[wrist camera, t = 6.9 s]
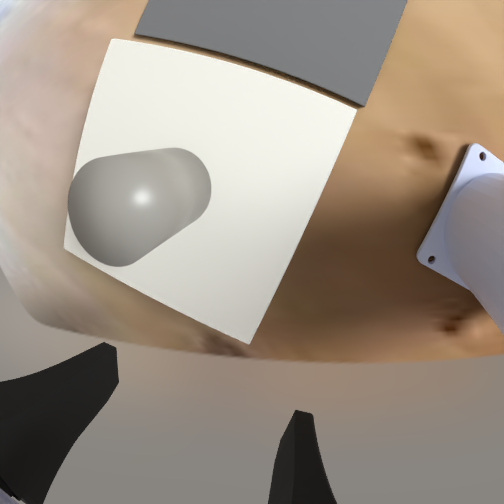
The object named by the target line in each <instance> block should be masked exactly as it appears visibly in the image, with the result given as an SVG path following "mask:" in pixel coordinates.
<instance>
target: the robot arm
mask: <svg viewBox="0 0 504 504" xmlns="http://www.w3.org/2000/svg"><path fill="white" fill-rule="evenodd" d="M481 152H482V153H483V156H484V157H483V159H482V160H480V158H479V154H480V153H481ZM430 256H434V259H433V260H432V261H431V262H428V258H429V257H430ZM417 259H418V261H419V262H420V263H421V264H423V265H425V266H427V267H429V268H431V269H432V270H434V271H436V272H438V273H440V274H442V275H443V276H445V277H447V278H449V279H451V280H452V281H454V282H456V283H458V284H459V285H461V286H463V287H465V288H466V289H468V290H470V291H471V292H472V293H473V294H474V296H475V297H476V298H477V300H478V301H479V302H480V303H481V305H482V306H483V307H484V309H485V310H486V311H487V313H488V314H489V315H490V317H491V318H492V320H493V321H494V322H495V324H496V325H497V327H498V328H499V329H500V331H501V332H502V334H503V335H504V163H503V162H502V161H501V160H499V159H498V158H497V157H495V156H494V155H493V154H491V153H490V152H489V151H487V150H486V149H485V148H483V147H482V146H481V145H479V144H477V143H472V144H470V145H469V146H468V148H467V151H466V153H465V155H464V158H463V160H462V163H461V165H460V167H459V169H458V172H457V174H456V176H455V178H454V180H453V183H452V185H451V187H450V189H449V191H448V193H447V195H446V197H445V200H444V202H443V204H442V206H441V208H440V210H439V212H438V214H437V216H436V218H435V220H434V221H433V223H432V225H431V227H430V229H429V231H428V233H427V235H426V237H425V238H424V240H423V242H422V244H421V246H420V248H419V249H418V251H417ZM118 383H119V378H118V366H117V351H116V347H114V346H111V345H109V344H107V343H105V342H103V343H101V344H99V345H97V346H95V347H93V348H91V349H89V350H86V351H84V352H83V353H80V354H79V355H76V356H74V357H72V358H70V359H68V360H66V361H64V362H61V363H59V364H57V365H54V366H52V367H49V368H47V369H45V370H42V371H40V372H37V373H34V374H31V375H27V376H24V377H20V378H17V379H13V380H8V381H2V382H0V504H18V503H17V502H16V501H15V500H13V499H12V498H11V497H12V496H13V497H15V498H16V499H17V500H19V501H20V500H22V501H23V502H24V503H26V504H43V502H44V500H45V497H46V495H47V492H48V490H49V488H50V486H51V484H52V482H53V480H54V478H55V476H56V474H57V471H58V470H59V468H60V466H61V464H62V463H63V461H64V459H65V457H66V456H67V454H68V452H69V451H70V449H71V447H72V446H73V444H74V443H75V441H76V440H77V439H78V437H79V436H80V435H81V433H82V432H83V431H84V430H85V428H86V427H87V426H88V425H89V423H90V422H91V421H92V420H93V419H94V417H95V416H96V415H97V414H98V412H99V411H100V410H101V409H102V407H103V406H104V405H105V404H106V402H107V401H108V399H109V398H110V396H111V395H112V393H113V391H114V389H115V388H116V386H117V385H118ZM268 504H337V502H336V500H335V498H334V495H333V493H332V490H331V488H330V485H329V482H328V479H327V476H326V473H325V469H324V466H323V463H322V459H321V455H320V452H319V447H318V442H317V437H316V432H315V426H314V418H313V415H312V414H311V413H307V412H302V411H298V410H295V412H294V414H293V416H292V418H291V420H290V422H289V424H288V427H287V428H286V430H285V432H284V434H283V436H282V438H281V440H280V444H279V448H278V451H277V455H276V459H275V463H274V469H273V475H272V482H271V488H270V494H269V501H268Z"/></svg>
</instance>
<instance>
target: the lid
mask: <svg viewBox="0 0 504 504" xmlns="http://www.w3.org/2000/svg"><path fill="white" fill-rule="evenodd" d="M356 112H357V110H356V109H354V108H352V107H350V106H347V105H345V104H343V103H341V102H338V101H336V100H334V99H331V98H329V97H327V96H324V95H322V94H319V93H317V92H314V91H312V90H309V89H307V88H304V87H302V86H299V85H296V84H294V83H291V82H288V81H285V80H283V79H280V78H277V77H274V76H271V75H268V74H265V73H262V72H259V71H256V70H253V69H250V68H246V67H243V66H240V65H236V64H233V63H229V62H226V61H222V60H219V59H215V58H211V57H207V56H203V55H199V54H195V53H191V52H186V51H182V50H177V49H173V48H168V47H163V46H157V45H152V44H146V43H140V42H134V41H128V40H121V39H113V38H112V39H111V42H110V45H109V47H108V50H107V53H106V56H105V58H104V61H103V64H102V67H101V70H100V73H99V76H98V79H97V82H96V86H95V89H94V92H93V96H92V99H91V102H90V106H89V110H88V113H87V117H86V121H85V125H84V129H83V133H82V137H81V142H80V146H79V151H78V155H77V160H76V165H75V170H74V176H73V181H72V183H71V186H70V190H69V195H68V214H67V221H66V230H65V239H64V249H66V250H67V251H69V252H71V253H72V254H74V255H76V256H77V257H79V258H81V259H83V260H84V261H86V262H88V263H89V264H91V265H93V266H95V267H96V268H98V269H100V270H102V271H103V272H105V273H107V274H109V275H110V276H112V277H114V278H116V279H118V280H119V281H121V282H123V283H125V284H127V285H129V286H130V287H132V288H134V289H136V290H138V291H140V292H142V293H144V294H145V295H147V296H149V297H151V298H153V299H155V300H157V301H159V302H161V303H163V304H165V305H167V306H169V307H171V308H173V309H175V310H177V311H179V312H181V313H183V314H185V315H187V316H189V317H191V318H193V319H195V320H197V321H199V322H201V323H203V324H205V325H207V326H209V327H211V328H214V329H216V330H218V331H220V332H222V333H224V334H226V335H229V336H231V337H233V338H235V339H237V340H240V341H242V342H244V343H246V344H250V342H251V340H252V338H253V336H254V334H255V332H256V330H257V328H258V326H259V324H260V322H261V320H262V318H263V316H264V314H265V312H266V310H267V308H268V306H269V304H270V302H271V300H272V298H273V296H274V294H275V292H276V290H277V287H278V285H279V283H280V281H281V279H282V277H283V275H284V273H285V271H286V269H287V267H288V264H289V262H290V260H291V258H292V256H293V254H294V252H295V250H296V247H297V245H298V243H299V241H300V239H301V237H302V235H303V232H304V230H305V228H306V226H307V224H308V222H309V219H310V217H311V215H312V213H313V211H314V208H315V206H316V204H317V202H318V199H319V197H320V195H321V193H322V191H323V188H324V186H325V184H326V182H327V179H328V177H329V175H330V173H331V170H332V168H333V166H334V163H335V161H336V159H337V157H338V154H339V152H340V150H341V147H342V145H343V143H344V140H345V138H346V136H347V133H348V131H349V129H350V126H351V124H352V121H353V119H354V117H355V114H356Z"/></svg>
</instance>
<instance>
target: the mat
mask: <svg viewBox="0 0 504 504" xmlns="http://www.w3.org/2000/svg"><path fill="white" fill-rule="evenodd" d="M406 3H407V0H149V2H148V4H147V6H146V8H145V10H144V13H143V15H142V17H141V19H140V22H139V24H138V26H137V29H136V31H135V33H134V34H137V35H141V36H147V37H153V38H158V39H163V40H168V41H173V42H178V43H183V44H187V45H191V46H196V47H200V48H204V49H208V50H211V51H215V52H219V53H223V54H226V55H230V56H233V57H237V58H240V59H243V60H246V61H250V62H253V63H256V64H259V65H262V66H265V67H268V68H271V69H274V70H277V71H279V72H282V73H285V74H288V75H290V76H293V77H296V78H298V79H301V80H304V81H306V82H309V83H311V84H314V85H316V86H319V87H321V88H323V89H326V90H328V91H330V92H333V93H335V94H337V95H340V96H342V97H344V98H346V99H348V100H351V101H353V102H355V103H357V104H359V105H361V106H363V107H364V106H365V105H366V102H367V100H368V98H369V95H370V93H371V91H372V88H373V86H374V83H375V81H376V79H377V76H378V74H379V71H380V69H381V66H382V64H383V62H384V59H385V57H386V54H387V52H388V49H389V47H390V44H391V42H392V39H393V37H394V34H395V31H396V29H397V26H398V24H399V21H400V19H401V16H402V13H403V11H404V8H405V5H406Z"/></svg>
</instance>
